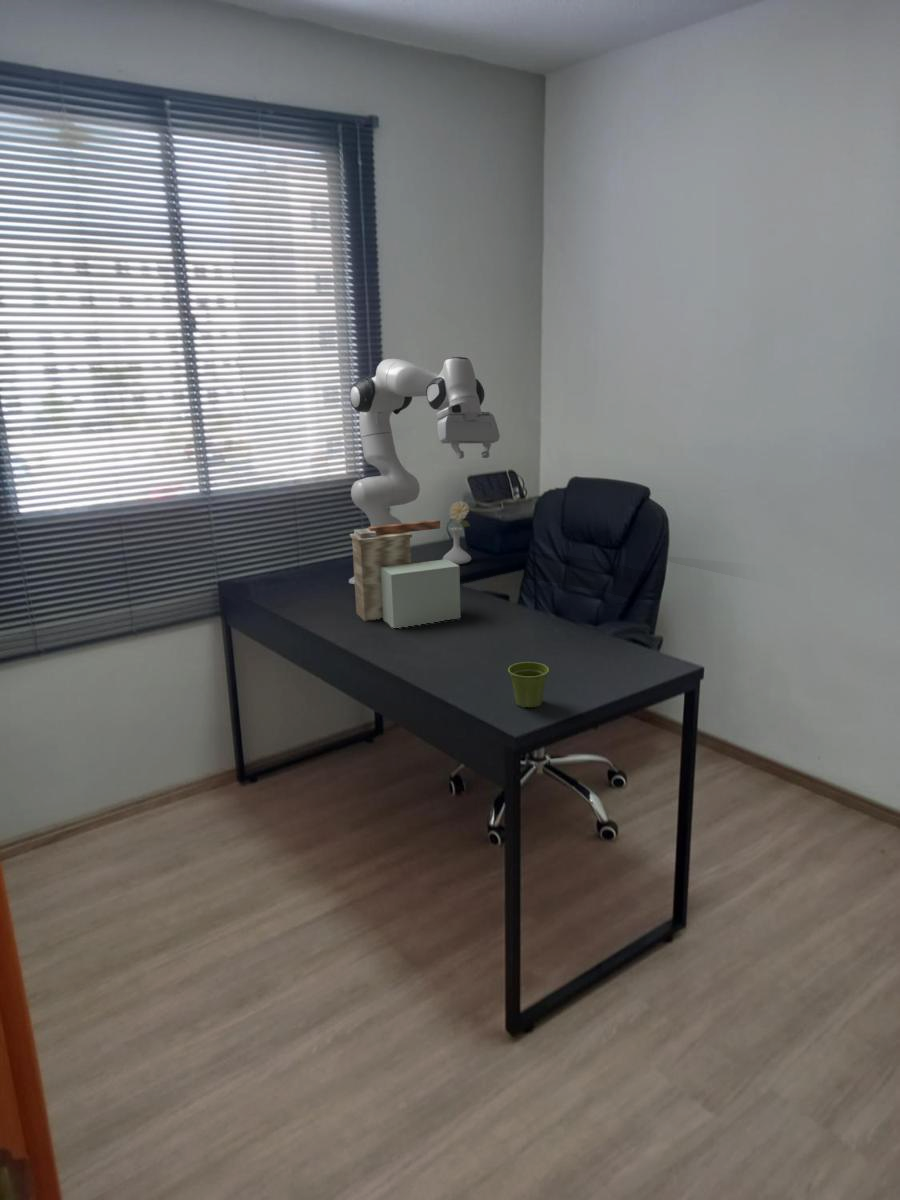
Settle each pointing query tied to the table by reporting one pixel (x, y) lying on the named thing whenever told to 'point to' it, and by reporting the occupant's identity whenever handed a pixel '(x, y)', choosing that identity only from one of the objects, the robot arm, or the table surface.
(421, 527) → the scraper
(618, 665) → the table surface
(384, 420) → the robot arm
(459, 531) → the flower in vase
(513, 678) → the plant pot
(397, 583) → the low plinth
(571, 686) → the table surface
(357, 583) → the tall stand
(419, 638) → the table surface
